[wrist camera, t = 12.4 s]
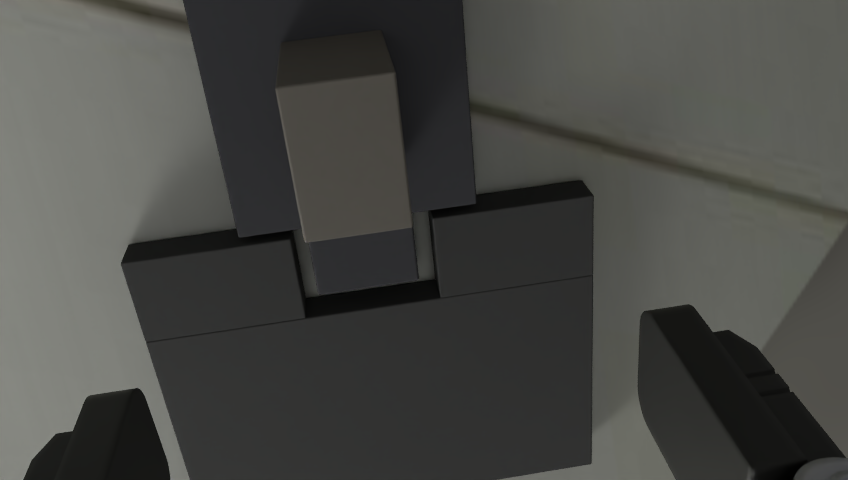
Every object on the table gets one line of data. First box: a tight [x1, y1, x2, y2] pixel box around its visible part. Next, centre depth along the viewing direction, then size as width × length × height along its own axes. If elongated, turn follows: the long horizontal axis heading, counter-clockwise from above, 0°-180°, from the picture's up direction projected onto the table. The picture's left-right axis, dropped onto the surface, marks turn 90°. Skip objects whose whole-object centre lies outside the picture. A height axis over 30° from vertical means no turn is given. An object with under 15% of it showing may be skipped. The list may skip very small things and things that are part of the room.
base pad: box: [121, 181, 594, 480], centre depth 34 cm, size 18×14×2 cm
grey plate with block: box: [183, 0, 476, 295], centre depth 27 cm, size 9×12×6 cm
